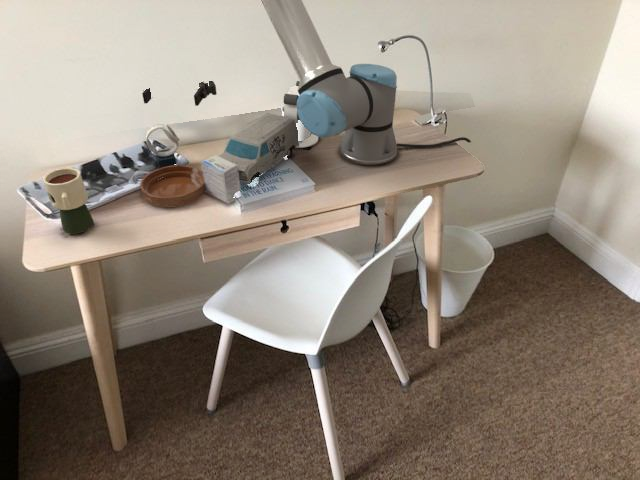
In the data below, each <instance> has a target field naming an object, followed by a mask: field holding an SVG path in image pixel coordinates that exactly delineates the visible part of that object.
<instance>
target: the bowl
mask: <svg viewBox="0 0 640 480" xmlns="http://www.w3.org/2000/svg"><path fill="white" fill-rule="evenodd" d="M162 177H163V178H162ZM160 178H161V179H160ZM158 179H159V180H158ZM139 188H140V192H141V196H142V199H143V200H144V201H145V202H147V203H148V204H150V205H152V206H157V207H163V208H173V207H181V206H185V205H189V204H190V203H191V204H192V203H194V202H195V201H197V200H199V199H200V198H201V197H203V196H204V195H205V193H207V192H206V187H205V181H204V174H203V170H201V169H200V168H198V167H195V166H191V165H185V164H177V165H173V166H167V167H162V168H159V167H158V168H157V169H154V170H151V171H150V172H148V173H147V174H145V175H144V176H143V177H142V179H141V180H140V183H139Z"/></svg>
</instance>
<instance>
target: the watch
mask: <svg viewBox="0 0 640 480" xmlns="http://www.w3.org/2000/svg"><path fill="white" fill-rule="evenodd" d="M158 130H162V132H163V133H164V134H165V136H166V137H168V139H169V140H170V141H171V142H172V143H174V144H173V147H171V148H165V149H160V150H158V149H157V148H155V146H154V145H153V144H152V143H151V142H150V139H149V137H150V136H151V134H152V133H153V132H155V131H158ZM179 141H180V138H179V137H178V135H177V134H176V132H175V131H174V130H173V128H171V127H170V125H168V124H164V123H158V124H154V125H152V126H150V127H149V129H147V131H146V133H145V143H146V146H147V147H148V149H149V151H151V152H152V153H153V154H154V155H155V158H156V164H157V167H158V169H159V168H162V167H167V166H173V165H174V164H177V159H176V155H175V153H176V152H177V151H178V148H179V146H180V145H179Z"/></svg>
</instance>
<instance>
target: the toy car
mask: <svg viewBox="0 0 640 480" xmlns="http://www.w3.org/2000/svg"><path fill="white" fill-rule="evenodd" d="M297 145H298V146H299V143H298V130H297V127H296V123H295V121H294V119H291V118H288V117H284V115H281V114H275V113H271V112H267V113H265V114H264V115H262V116H260V117H258V118H257V119H255V120H252V121H251V122H250V123H248V124H247V125H245V126H244V127H242V128H241V129H239V130H238V131H236V132H235V133H234V134H232V135H231V136H230V137H229V139H228V142H227V144H226V146H225V148H224V151H223V152H222V153H220V155H218V156H219V157H221V158H223V159H225V160H227V161H229V162H232V163H234V164H236V165H237V166H238V173H239V181H240V184H242V183H243V185H247V184H250V183H251V182H252V180H254V179H255V178H256V177H260V176H259V175H261V174H262V173H264V172H265V171H266V172H268V171H269V170H270V169H272V168H273V167H274V166H276V165H277V164H278V163H280V162H281V161H282V160H283V159H282V158H283V157H285V156H286V155H288V156H287V158H288V160H290V159H291V158H292V157H293V152H294V150H295V149H297V148H296V147H297ZM281 159H282V160H281ZM280 160H281V161H280ZM279 161H280V162H279ZM277 162H278V163H277ZM276 163H277V164H276ZM275 164H276V165H275ZM273 165H274V166H273ZM272 166H273V167H272ZM271 167H272V168H271ZM269 168H270V169H269ZM268 169H269V170H268ZM267 170H268V171H267ZM266 172H265V173H266ZM265 173H264V174H265ZM261 176H262V175H261Z"/></svg>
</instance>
